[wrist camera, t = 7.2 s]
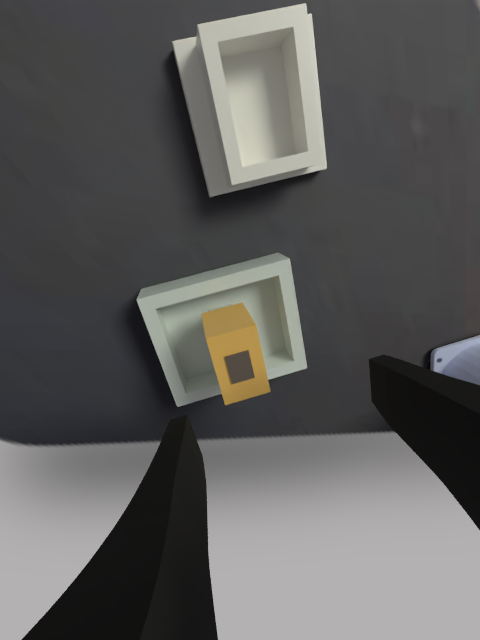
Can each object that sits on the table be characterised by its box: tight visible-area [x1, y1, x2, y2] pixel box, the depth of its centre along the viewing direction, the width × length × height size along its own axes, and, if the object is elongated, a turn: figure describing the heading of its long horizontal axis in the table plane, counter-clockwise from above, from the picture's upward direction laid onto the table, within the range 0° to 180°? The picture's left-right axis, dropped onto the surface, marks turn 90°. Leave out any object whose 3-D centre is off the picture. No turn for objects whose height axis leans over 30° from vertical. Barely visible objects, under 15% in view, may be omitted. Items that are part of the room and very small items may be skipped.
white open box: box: [172, 3, 327, 197], centre depth 16 cm, size 7×7×3 cm
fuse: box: [201, 303, 271, 405], centre depth 18 cm, size 4×2×6 cm, turn 12°
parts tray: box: [136, 253, 307, 407], centre depth 20 cm, size 8×9×2 cm
